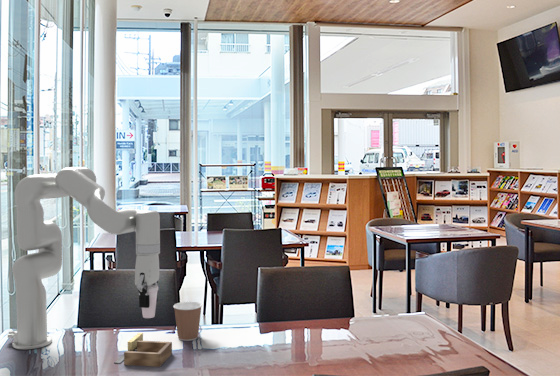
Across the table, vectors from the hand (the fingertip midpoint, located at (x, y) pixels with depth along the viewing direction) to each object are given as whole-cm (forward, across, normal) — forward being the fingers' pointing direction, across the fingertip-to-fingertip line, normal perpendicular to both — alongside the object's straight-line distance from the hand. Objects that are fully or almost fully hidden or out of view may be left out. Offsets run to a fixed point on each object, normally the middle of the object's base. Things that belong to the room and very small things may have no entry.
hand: (148, 303), depth 174 cm
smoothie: (+4, 0, 0) cm, 4 cm away
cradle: (+18, -5, -2) cm, 19 cm away
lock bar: (+18, -10, -9) cm, 22 cm away
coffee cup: (+18, -22, +6) cm, 30 cm away
